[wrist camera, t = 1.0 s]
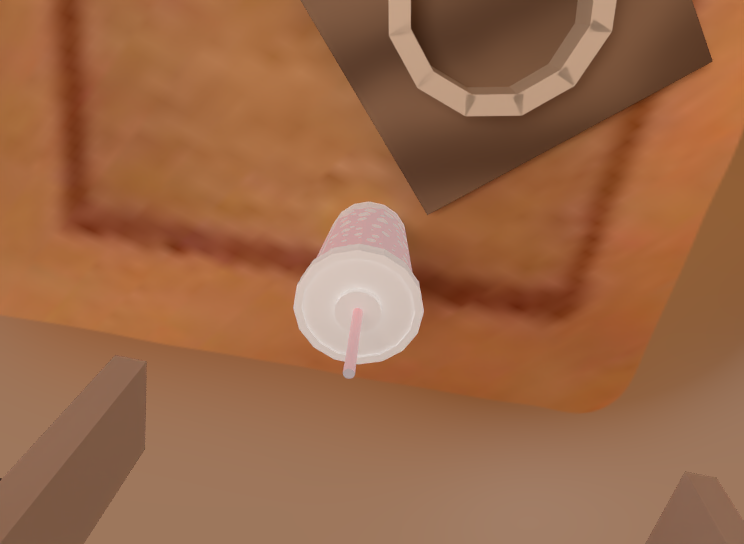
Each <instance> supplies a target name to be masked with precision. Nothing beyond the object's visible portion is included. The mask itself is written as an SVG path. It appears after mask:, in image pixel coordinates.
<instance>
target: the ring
mask: <svg viewBox="0 0 744 544" xmlns="http://www.w3.org/2000/svg"><path fill="white" fill-rule="evenodd" d="M388 1H389V37H390V39H391V41H392V42H393V44H394V46H395V48H396V50H397V52H398V53H399V55H400V57H401V59H402V61H403V63H404V64H405V66H406V68H407V70H408V72H409V74H410V75H411V77H412V79H413V81H414V83H415V85H416V86H417V88H418V89H420V90H422V91H423V92H425V93H427V94H428V95H430V96H432V97H433V98H435V99H437V100H439V101H440V102H442V103H444V104H445V105H447V106H449V107H450V108H452V109H454V110H455V111H457V112H459V113H461V114H462V115H464V116H522V115H524V114H526V113H527V112H529V111H531V110H533V109H534V108H536V107H538V106H540V105H542V104H543V103H545V102H547V101H549V100H550V99H552V98H554V97H556V96H558V95H559V94H561V93H563V92H565V91H566V90H568V89H570V88H572V87H574V86H575V85H576V83H577V82H578V80H579V79H580V77H581V76H582V74H583V73H584V72H585V70H586V69H587V67H588V66H589V64H590V63H591V61H592V60H593V58H594V57H595V55H596V54H597V53H598V51H599V50H600V48H601V47H602V45H603V44H604V42H605V41H606V39H607V38H608V37H609V35H610V34H611V32H612V28H613V21H614V15H615V8H616V1H617V0H578V2H577V11H576V19H575V24H574V25H573V27H572V28H571V30H570V32H569V33H568V35H567V36H566V38H565V39H564V41H563V42H562V44H561V45H560V47H559V48H558V50H557V51H556V53H555V54H554V56H553V57H552V59H551V61H550V62H549V64H547V65H546V66H544V67H542V68H540V69H539V70H537V71H535V72H534V73H532V74H530V75H528V76H527V77H525V78H523V79H522V80H520V81H518V82H516V83H515V84H513V85H511V86H509V87H465V86H464V85H462V84H460V83H459V82H457V81H455V80H454V79H452V78H450V77H449V76H447V75H445V74H444V73H442V72H440V71H439V70H437V69H435V68H434V67H432V66H431V65H430V63H429V61H428V59H427V57H426V55H425V54H424V52H423V50H422V48H421V46H420V44H419V42H418V40H417V38H416V37H415V35H414V33H413V31H412V29H411V0H388Z"/></svg>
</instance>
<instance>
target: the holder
mask: <svg viewBox="0 0 744 544" xmlns="http://www.w3.org/2000/svg"><path fill="white" fill-rule="evenodd" d="M301 2H302V3H303V5H304V7H305V8H306V10H307V12H308V14H309V15H310V17H311V19H312V20H313V22H314V24H315V25H316V27H317V29H318V30H319V32H320V34H321V36H322V37H323V39H324V41H325V42H326V44H327V46H328V47H329V49H330V51H331V52H332V54H333V56H334V58H335V59H336V61H337V63H338V64H339V66H340V68H341V69H342V71H343V73H344V74H345V76H346V78H347V80H348V81H349V83H350V85H351V86H352V88H353V90H354V91H355V93H356V95H357V96H358V98H359V100H360V102H361V103H362V105H363V107H364V108H365V110H366V112H367V113H368V115H369V117H370V118H371V120H372V122H373V124H374V125H375V127H376V129H377V130H378V132H379V134H380V135H381V137H382V139H383V140H384V142H385V144H386V146H387V147H388V149H389V151H390V152H391V154H392V156H393V157H394V159H395V161H396V162H397V164H398V166H399V168H400V169H401V171H402V173H403V174H404V176H405V178H406V179H407V181H408V183H409V185H410V186H411V188H412V190H413V191H414V193H415V195H416V196H417V198H418V200H419V201H420V203H421V205H422V207H423V208H424V210H425V212H426V213H427V215H428V214H430V213H432V212H434V211H436V210H438V209H440V208H441V207H443V206H445V205H447V204H449V203H451V202H453V201H454V200H456V199H458V198H460V197H462V196H464V195H466V194H467V193H469V192H471V191H473V190H475V189H477V188H479V187H480V186H482V185H484V184H486V183H488V182H490V181H492V180H493V179H495V178H497V177H499V176H501V175H503V174H505V173H506V172H508V171H510V170H512V169H514V168H516V167H518V166H519V165H521V164H523V163H525V162H527V161H529V160H531V159H532V158H534V157H536V156H538V155H540V154H542V153H544V152H545V151H547V150H549V149H551V148H553V147H555V146H556V145H558V144H560V143H562V142H564V141H566V140H568V139H569V138H571V137H573V136H575V135H577V134H579V133H581V132H582V131H584V130H586V129H588V128H590V127H592V126H594V125H595V124H597V123H599V122H601V121H603V120H605V119H607V118H608V117H610V116H612V115H614V114H616V113H618V112H620V111H621V110H623V109H625V108H627V107H629V106H631V105H633V104H634V103H636V102H638V101H640V100H642V99H644V98H646V97H647V96H649V95H651V94H653V93H655V92H657V91H659V90H660V89H662V88H664V87H666V86H668V85H670V84H672V83H673V82H675V81H677V80H679V79H681V78H683V77H685V76H686V75H688V74H690V73H692V72H694V71H696V70H698V69H699V68H701V67H703V66H705V65H707V64H709V63H711V62H712V58H711V55H710V52H709V49H708V46H707V43H706V40H705V37H704V34H703V31H702V28H701V26H700V23H699V20H698V17H697V14H696V11H695V8H694V5H693V2H692V0H617V1H616V8H615V15H614V21H613V28H612V32H611V34H610V35H609V37H608V38H607V39H606V41H605V42H604V44H603V45H602V47H601V48H600V50H599V51H598V53H597V54H596V55H595V57H594V58H593V60H592V61H591V63H590V64H589V66H588V67H587V69H586V70H585V72H584V73H583V74H582V76H581V77H580V79H579V80H578V82H577V83H576V85H575V86H574V87H572V88H570V89H568V90H566V91H565V92H563V93H561V94H559V95H558V96H556V97H554V98H552V99H550V100H549V101H547V102H545V103H543V104H542V105H540V106H538V107H536V108H534V109H533V110H531V111H529V112H527V113H526V114H524V115H522V116H464V115H462V114H461V113H459V112H457V111H455V110H454V109H452V108H450V107H449V106H447V105H445V104H444V103H442V102H440V101H439V100H437V99H435V98H433V97H432V96H430V95H428V94H427V93H425V92H423V91H422V90H420V89H418V88H417V86H416V85H415V83H414V81H413V79H412V77H411V75H410V74H409V72H408V70H407V68H406V66H405V64H404V63H403V61H402V59H401V57H400V55H399V53H398V52H397V50H396V48H395V46H394V44H393V42H392V41H391V39H390V37H389V1H388V0H301ZM577 2H578V0H411V29H412V31H413V33H414V35H415V37H416V38H417V40H418V42H419V44H420V46H421V48H422V50H423V52H424V54H425V55H426V57H427V59H428V61H429V63H430V65H431V66H432V67H434V68H435V69H437V70H439V71H440V72H442V73H444V74H445V75H447V76H449V77H450V78H452V79H454V80H455V81H457V82H459V83H460V84H462V85H464V86H465V87H509V86H511V85H513V84H515V83H516V82H518V81H520V80H522V79H523V78H525V77H527V76H528V75H530V74H532V73H534V72H535V71H537V70H539V69H540V68H542V67H544V66H546V65H547V64H549V62H550V61H551V59H552V57H553V56H554V54H555V53H556V51H557V50H558V48H559V47H560V45H561V44H562V42H563V41H564V39H565V38H566V36H567V35H568V33H569V32H570V30H571V28H572V27H573V25H574V24H575V19H576V11H577Z"/></svg>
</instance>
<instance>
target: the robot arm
mask: <svg viewBox="0 0 744 544" xmlns="http://www.w3.org/2000/svg"><path fill="white" fill-rule="evenodd" d="M146 365H147V363H146V361H142V360H137V359H133V358H128V357H123V356H118V355H115V356H114V357H113V358H112V359H111V360H110V361H109V362H108V363H107V364H106V366H105V367H104V368H103V369H102V370H101V371H100V372H99V373H98V374H97V375H96V377H95V378H94V379H93V380H92V381H91V382H90V383H89V384H88V385H87V386H86V387H85V389H84V390H83V391H82V392H81V393H80V394H79V395H78V396H77V397H76V398H75V399H74V401H73V402H72V403H71V404H70V405H69V406H68V407H67V408H66V409H65V410H64V412H63V413H62V414H61V415H60V416H59V417H58V418H57V419H56V420H55V421H54V422H53V424H52V425H51V426H50V427H49V428H48V429H47V430H46V431H45V432H44V433H43V435H42V436H41V437H40V438H39V439H38V440H37V441H36V442H35V443H34V444H33V446H32V447H31V448H30V449H29V450H28V451H27V452H26V453H25V454H24V455H23V456H22V458H21V459H20V460H19V461H18V462H17V463H16V464H15V465H14V466H13V467H12V468H11V470H10V471H9V472H8V473H7V474H6V475H5V476H4V477H3V478H2V479H1V478H0V544H84V543H85V541H86V539H87V538H88V536H89V535H90V533H91V532H92V530H93V529H94V527H95V526H96V524H97V522H98V521H99V519H100V518H101V516H102V514H103V513H104V511H105V510H106V508H107V507H108V505H109V504H110V502H111V501H112V499H113V498H114V496H115V494H116V493H117V491H118V490H119V488H120V487H121V485H122V484H123V482H124V481H125V479H126V478H127V476H128V474H129V473H130V471H131V470H132V468H133V467H134V465H135V464H136V462H137V460H138V459H139V457H140V456H141V454H142V453H143V451H144V450H145V417H146V416H145V415H146V367H147V366H146ZM646 544H744V520H743V519H742V517H741V516H740V514H739V513H738V511H737V509H736V508H735V506H734V505H733V503H732V501H731V500H730V498H729V497H728V495H727V493H726V492H725V490H724V489H723V487H722V486H721V484H720V482H719V481H718V479H717V478H714V477H710V476H705V475H700V474H695V473H691V472H686V471H685V473H684V474H683V476H682V478H681V480H680V482H679V484H678V485H677V487H676V489H675V491H674V493H673V495H672V496H671V498H670V500H669V502H668V504H667V505H666V507H665V509H664V511H663V513H662V514H661V516H660V518H659V520H658V522H657V524H656V525H655V527H654V529H653V531H652V533H651V534H650V536H649V538H648V540H647V542H646Z"/></svg>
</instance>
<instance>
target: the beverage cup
mask: <svg viewBox="0 0 744 544" xmlns="http://www.w3.org/2000/svg"><path fill="white" fill-rule="evenodd" d="M293 309H294V312H295V316H296V319H297V323H298V326H299V330H300V331H301V332H302V333H303V334H304V336H305V337H306V338H307V339H308V341H309V342H310V343H311V344H312V346H313V347H314V348H316V349H318V350H319V351H321V352H323V353H324V354H326V355H328V356H329V357H331V358H333V359H335V360H339V361H344V362H345V363H344V370H343V376H344V377H345V378H348V379H350V378H353V377H354V376H355V370H356V364H365V363H372V362H380V361H384V360H386V359H388V358H389V357H391V356H393V355H395V354H397V353H399V352H401V351H403V350H404V349H405V348H406V346H407V345H408V344H409V343H410V342H411V341H412V339H413V338H414V337H415V336H416V335H417V334H418V331H419V327H420V324H421V320H422V317H423V313H424V309H423V303H422V297H421V291H420V285H419V281H418V280H417V279H416V277H415V276H414V274H413V273H412V268H411V262H410V256H409V250H408V244H407V238H406V233H405V227H404V224H403V222H402V221H401V219H400V218H399V216H398V215H397V213H395V212H394V211H392V210H391V209H389V208H388V207H386V206H385V205H383V204H378V203H373V202H364V203H358V204H354V205H352V206H350V207H349V208H347V209H345V210H344V211H342V212H341V214H340V215H339V216H338V218H337V219H336V221H335V222H334V224H333V226H332V228H331V230H330V232H329V234H328V236H327V238H326V240H325V242H324V244H323V246H322V248H321V250H320V252H319V254H318V256H317V258H316V259H314V260H313V261H312V263H311V264H310V266H309V267H308V268H307V270H306V271H305V273H304V274H303V275H302V277H301V278H300V281H299V282H298V284H297V289H296V295H295V301H294V306H293Z"/></svg>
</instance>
